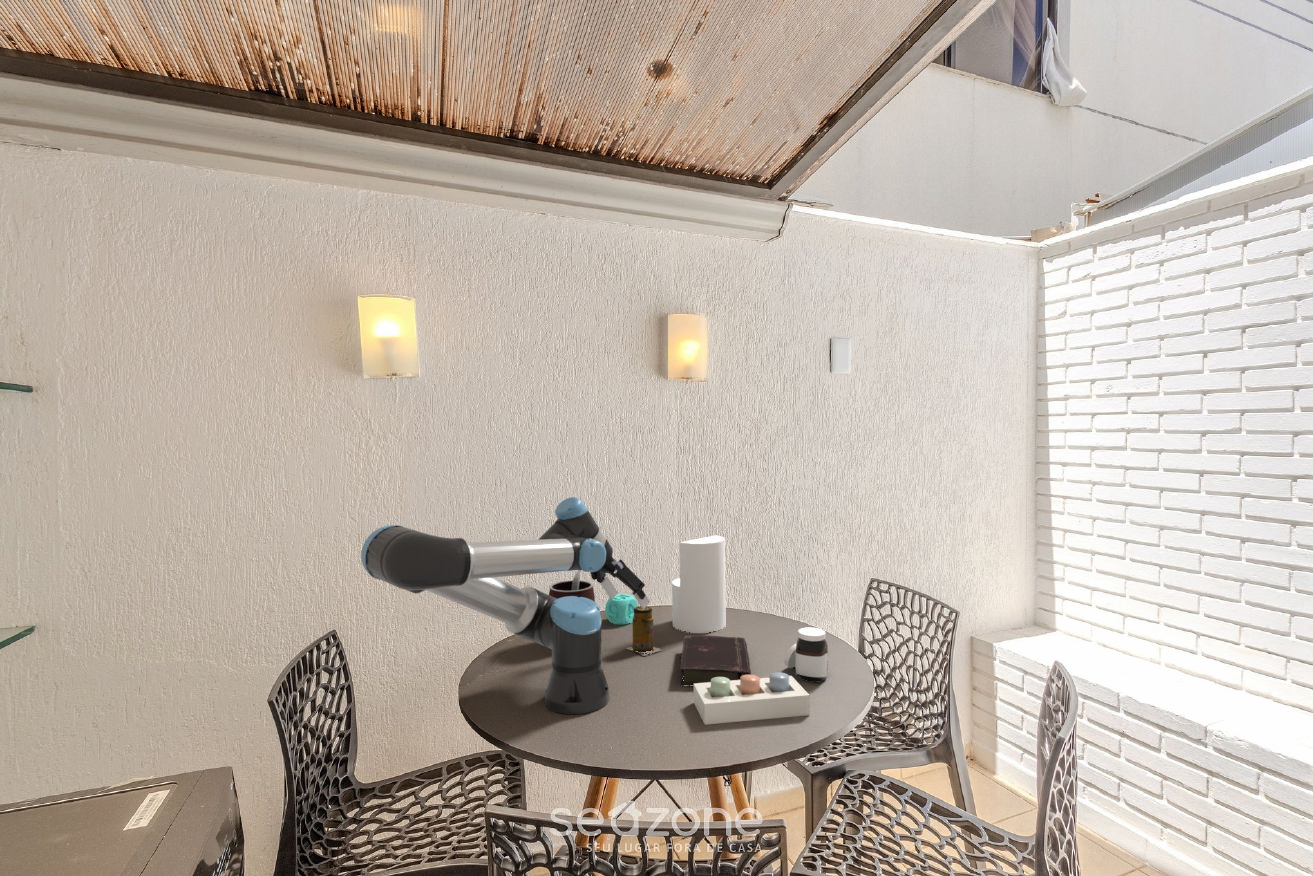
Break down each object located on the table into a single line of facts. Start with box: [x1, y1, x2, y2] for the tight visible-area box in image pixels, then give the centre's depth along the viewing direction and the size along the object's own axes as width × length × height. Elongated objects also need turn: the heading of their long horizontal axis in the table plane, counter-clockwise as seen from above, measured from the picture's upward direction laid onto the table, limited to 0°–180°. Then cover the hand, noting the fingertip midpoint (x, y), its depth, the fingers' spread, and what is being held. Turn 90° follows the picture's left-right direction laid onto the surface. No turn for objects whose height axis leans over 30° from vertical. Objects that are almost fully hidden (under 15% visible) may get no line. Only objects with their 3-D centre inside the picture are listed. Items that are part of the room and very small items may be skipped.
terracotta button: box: [739, 674, 761, 695], centre depth 144 cm, size 4×4×3 cm
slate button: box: [769, 671, 790, 693], centre depth 145 cm, size 4×4×3 cm
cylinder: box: [671, 535, 727, 634], centre depth 205 cm, size 17×17×28 cm
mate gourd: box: [548, 570, 596, 603], centre depth 191 cm, size 16×14×20 cm
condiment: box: [626, 605, 661, 657], centre depth 183 cm, size 7×8×12 cm
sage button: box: [711, 677, 730, 698], centre depth 143 cm, size 4×4×3 cm
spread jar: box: [783, 626, 829, 683], centre depth 164 cm, size 12×11×12 cm
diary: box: [679, 634, 752, 687], centre depth 169 cm, size 19×25×5 cm
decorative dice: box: [604, 593, 639, 626], centre depth 210 cm, size 8×8×8 cm
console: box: [693, 675, 811, 725], centre depth 144 cm, size 24×11×4 cm, turn 99°
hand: (630, 600), depth 179 cm, fingers open, 13 cm apart
